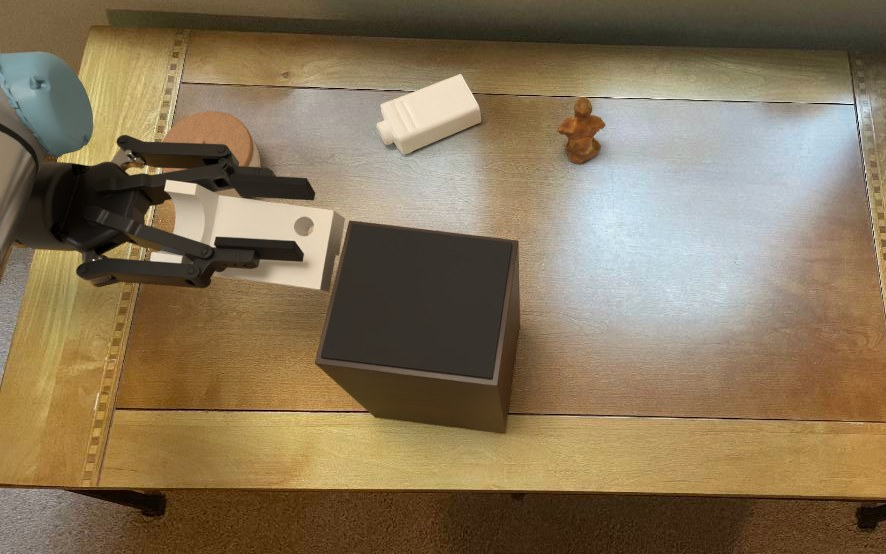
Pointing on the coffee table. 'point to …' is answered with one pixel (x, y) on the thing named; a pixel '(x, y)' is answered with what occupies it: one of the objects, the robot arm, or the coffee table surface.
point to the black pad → (419, 301)
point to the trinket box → (216, 138)
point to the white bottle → (428, 114)
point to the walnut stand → (431, 391)
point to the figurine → (581, 132)
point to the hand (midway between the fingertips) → (304, 219)
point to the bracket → (258, 234)
